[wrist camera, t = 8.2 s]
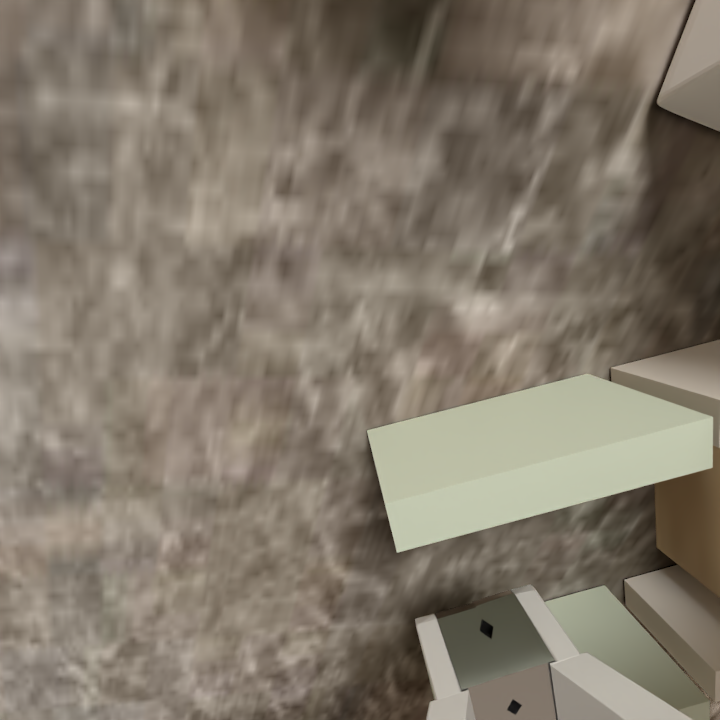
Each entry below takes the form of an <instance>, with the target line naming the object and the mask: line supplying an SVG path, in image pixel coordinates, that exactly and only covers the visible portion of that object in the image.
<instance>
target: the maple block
mask: <svg viewBox="0 0 720 720" xmlns="http://www.w3.org/2000/svg"><path fill="white" fill-rule="evenodd" d="M655 513H656V546H657V548H658V549H659V550H661V551H662V552H663V553H664V554H666V555H667V556H668V557H669V558H671V559H672V560H673V561H674V562H675V563H677V564H678V565H679V566H680V567H682V568H683V569H684V570H685V571H687V572H688V573H689V574H690V575H692V576H693V577H694V578H695V579H697V580H698V581H699V582H700V583H702V584H703V585H704V586H705V587H707V588H708V589H709V590H710V591H712V592H713V593H714V594H715V595H717V596H718V597H719V598H720V448H718V447H716V446H713V468H710V469H706V470H702V471H699V472H695V473H691V474H688V475H684V476H680V477H676V478H673V479H669V480H665V481H662V482H658V483H655Z"/></svg>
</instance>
